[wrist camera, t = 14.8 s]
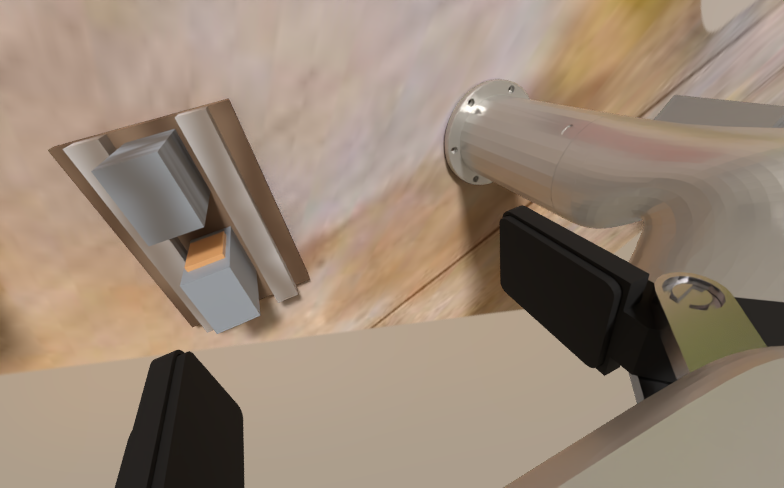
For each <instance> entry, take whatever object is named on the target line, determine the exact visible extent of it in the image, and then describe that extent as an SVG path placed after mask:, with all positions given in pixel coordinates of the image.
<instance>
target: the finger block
mask: <svg viewBox="0 0 784 488" xmlns="http://www.w3.org/2000/svg"><path fill="white" fill-rule="evenodd" d="M180 287H181V288H182V290H183V291H184V292H185V293H186V295H187V296H188V297H189V299H190V300H191V301H192V302H193V304H194V305H195V306H196V308H197V309H198V310H199V311H200V313H201V314H202V315H203V316H204V318H205V319H206V320H207V322H208V323H209V324H210V325H211V327H212V328H213V329H214V331H215V332H216V333H217V334H218V333H221V332H223V331H225V330H228V329H230V328H233V327H235V326H237V325H240V324H242V323H244V322H247V321H249V320H251V319H254V318H256V317H258V316H260V305H259V294H258V283H257V273H256V269H255V267H254V265H253V264H252V262H251V260H250V258H249V257H248V255H247V253H246V251H245V250H244V248H243V246H242V245H241V243H240V241H239V239H238V238H237V236H236V234H235V232H234V231H233V229H232V227H231V226H229V227H227V228H224V229H221V230H218V231H216V232H213V233H210V234H207V235H205V236H202V237H199V238H196V239H194V240H191V241H190V246H189V250H188V254H187V258H186V262H185V267H184V271H183V275H182V279H181V284H180Z"/></svg>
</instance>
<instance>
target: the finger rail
mask: <svg viewBox="0 0 784 488" xmlns="http://www.w3.org/2000/svg"><path fill="white" fill-rule="evenodd" d="M48 151H49V152H50V154H51V155H52V156H53V157H54V159H55V160H56V161H57V162H58V163H59V165H60V166H61V167H62V168H63V170H64V171H65V172H66V173H67V174H68V176H69V177H70V178H71V179H72V181H73V182H74V183H75V184H76V186H77V187H78V188H79V189H80V190H81V192H82V193H83V194H84V195H85V197H86V198H87V199H88V200H89V201H90V203H91V204H92V205H93V206H94V208H95V209H96V210H97V211H98V212H99V214H100V215H101V216H102V217H103V219H104V220H105V221H106V222H107V223H108V225H109V226H110V227H111V228H112V230H113V231H114V232H115V233H116V234H117V236H118V237H119V238H120V239H121V241H122V242H123V243H124V244H125V245H126V247H127V248H128V249H129V250H130V252H131V253H132V254H133V255H134V256H135V258H136V259H137V260H138V261H139V263H140V264H141V265H142V266H143V267H144V269H145V270H146V271H147V272H148V274H149V275H150V276H151V277H152V278H153V280H154V281H155V282H156V283H157V285H158V286H159V287H160V288H161V289H162V291H163V292H164V293H165V294H166V296H167V297H168V298H169V299H170V301H171V302H172V303H173V304H174V305H175V307H176V308H177V309H178V310H179V312H180V313H181V314H182V315H183V316H184V318H185V319H186V320H187V321H188V323H189V324H190V325H191V326H192V327H194V326H197V325H199V324H201V325H202V326H203V328H204V329H205V330H206V332H210V331H212V330H214V329H213V328H212V327H211V325H210V324H209V323H208V322H207V320H206V319H205V318H204V316H203V315H202V314H201V313H200V311H199V310H198V309H197V308H196V306H195V305H194V304H193V302H192V301H191V300H190V299H189V297H188V296H187V295H186V293H185V292H184V291H183V290H182V288H181V287H180V284H181V279H182V275H183V271H184V267H185V262H186V258H187V254H188V250H189V246H190V241H191V240H194V239H196V238H199V237H202V236H205V235H207V234H210V233H213V232H216V231H218V230H221V229H224V228H227V227H229V226H231V227H232V229H233V231H234V232H235V234H236V236H237V238H238V239H239V241H240V243H241V245H242V246H243V248H244V250H245V251H246V253H247V255H248V257H249V258H250V260H251V262H252V264H253V265H254V267H255V269H256V273H257V283H258V294H259V300H260V299H263V298H265V297H267V296H270V295H272V294H273V295H274V296H275V298H276V300H277V302H278V303H279V302H282V301H284V300H287V299H289V298H291V297H294V296H296V295H298V292H297V288H296V285H297V284H299V283H302V282H304V281H306V280H309V279H310V278H309V275H308V272H307V270H306V268H305V266H304V263H303V261H302V259H301V257H300V255H299V252H298V250H297V248H296V246H295V244H294V241H293V239H292V237H291V235H290V233H289V230H288V228H287V226H286V224H285V222H284V219H283V217H282V215H281V213H280V211H279V208H278V206H277V204H276V202H275V200H274V197H273V195H272V193H271V191H270V189H269V186H268V184H267V182H266V180H265V177H264V175H263V173H262V171H261V169H260V166H259V164H258V162H257V160H256V158H255V155H254V153H253V151H252V149H251V147H250V144H249V142H248V140H247V138H246V136H245V133H244V131H243V129H242V127H241V125H240V122H239V120H238V118H237V116H236V114H235V111H234V109H233V107H232V105H231V103H230V100H229V99H225V100H221V101H218V102H214V103H211V104H207V105H203V106H200V107H196V108H192V109H189V110H185V111H182V112H178V113H174V114H171V115H167V116H163V117H160V118H156V119H153V120H149V121H145V122H142V123H138V124H134V125H131V126H127V127H124V128H120V129H116V130H113V131H109V132H105V133H102V134H98V135H94V136H91V137H87V138H84V139H80V140H76V141H73V142H69V143H65V144H62V145H58V146H55V147H53V148H51V149H49V150H48Z"/></svg>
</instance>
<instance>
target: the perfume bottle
mask: <svg viewBox="0 0 784 488" xmlns="http://www.w3.org/2000/svg"><path fill="white" fill-rule="evenodd" d="M654 120H659V121H666V122H674V123H682V124H694V125H709V126H725V127H761V128H784V106H777V105H767V104H758V103H748V102H738V101H729V100H719V99H709V98H700V97H690V96H680V95H674V96H673V97H672V99H671V100H670V101H669V102H668V103H667V105H666V106H665V107H664V108H663V109H662V111H661V112H660V113H659V114H658V115H657V116H656V118H655V119H654Z"/></svg>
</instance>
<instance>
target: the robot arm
mask: <svg viewBox="0 0 784 488" xmlns="http://www.w3.org/2000/svg"><path fill="white" fill-rule="evenodd" d="M444 144H445V155H446V159H447V162H448V164H449V166H450V168H451V170H452V171H453V172H454V174H455V175H456V176H458V177H459V178H460V179H462V180H464V181H465V182H467V183H470V184H473V185H486V184H490V183H493V182H494V183H496V184H498V185H500V186H502V187H504V188H506V189H508V190H510V191H512V192H514V193H516V194H518V195H520V196H522V197H523V198H525V199H527V200H529V201H531V202H533V203H535V204H537V205H539V206H541V207H543V208H545V209H547V210H549V211H551V212H553V213H555V214H556V215H558V216H560V217H562V218H565V219H567V220H568V221H570V222H572V223H575V224H577V225H580V226H583V227H588V228H596V229H601V228H612V227H617V226H622V225H626V224H630V223H634V222H638V221H641V220H643V222H644V227H643V231H642V233H641V236H640V238H639V240H638V242H637V246H636V248H635V250H634V252H633V254H632V256H631V258H630V260H629V262H627V261H625V260H623V259H621V258H619V257H618V256H616V255H614V254H612V253H610V252H608V251H607V250H605V249H603V248H601V247H599V246H597V245H595V244H594V243H592V242H590V241H588V240H586V239H584V238H583V237H581V236H579V235H577V234H575V233H573V232H572V231H570V230H568V229H566V228H564V227H562V226H560V225H559V224H557V223H555V222H553V221H551V220H549V219H548V218H546V217H544V216H542V215H540V214H538V213H536V212H535V211H533V210H531V209H529V208H527V207H525V206H519V207H516V208H514V209H511V210H509V211H507V212H505V213H504V214H503V218H502V219H501V220H500V277H501V286H502V288H503V289H504V291H505V292H506V293H507V294H508V295H509V296H510V297H511V298H513V299H514V300H515V301H516V302H517V303H518V304H519V305H520V306H521V307H523V308H524V309H525V310H526V311H527V312H528V313H529V314H530V315H531V316H533V317H534V318H535V319H536V320H537V321H538V322H539V323H540V324H542V325H543V326H544V327H545V328H546V329H547V330H548V331H549V332H550V333H551V334H553V335H554V336H555V337H556V338H557V339H558V340H559V341H560V342H561V343H562V344H564V345H565V346H566V347H567V348H568V349H569V350H570V351H571V352H572V353H574V354H575V355H576V356H577V357H578V358H579V359H580V360H581V361H583V362H584V363H585V364H586V365H587V366H589V367H591V368H596V369H597V370H599V371H600V372H601V373H602V374H603V375H604V376H605V375H607V374H609V373H610V372H612V371H614V370H615V369H617V368H619V367H620V365H621V366H622V367H623V368H625V369H626V370H627V371H628V372H629V376H630V379H631V383H632V387H633V391H634V394H635V398H636V402H637V404H636V405H635V406H633V407H632V408H630V409H628V410H627V411H625V412H623V413H622V414H620V415H619V416H617V417H615V418H614V419H612V420H611V421H609V422H607V423H606V424H604V425H602V426H601V427H600V428H598V429H596V430H594V431H593V432H591V433H590V434H588V435H586V436H585V437H583V438H582V439H580V440H578V441H577V442H575V443H574V444H572V445H570V446H569V447H567V448H566V449H564V450H562V451H561V452H559V453H558V454H556V455H554V456H553V457H551V458H549V459H548V460H546V461H545V462H543V463H541V464H540V465H538V466H537V467H535V468H533V469H532V470H530V471H529V472H527V473H526V474H524V475H522V476H521V477H519V478H518V479H516V480H514V481H513V482H511V483H510V484H508V485H506V486H505V487H503V488H784V128H761V127H725V126H709V125H694V124H682V123H674V122H666V121H659V120H651V119H643V118H637V117H631V116H625V115H619V114H613V113H607V112H601V111H595V110H589V109H583V108H577V107H571V106H566V105H560V104H554V103H548V102H542V101H536V100H530V99H529V96H528V94H527V93H526V92H525V91H524V89H523V88H522V87H521V86H519V85H518V84H516V83H514V82H511V81H508V80H501V79H497V80H489V81H486V82H483V83H481V84H479V85H477V86H475V87H474V88H472V89H471V90H470V91H469V92H468V93H467V94H465V96H464V97H463V98H462V99H461V100H460V101H459V103H458V104H457V106H456V107H455V109H454V111H453V112H452V115H451V117H450V119H449V122H448V125H447V129H446V133H445V143H444ZM243 445H244V443H243V415H242V412H241V409H240V407H239V406H238V404H237V403H236V402H235V401H234V400H233V399H232V398H231V396H230V395H229V394H228V393H227V392H226V391H225V390H224V388H223V387H222V386H221V385H220V384H219V383H218V382H217V380H216V379H215V378H214V377H213V376H212V375H211V374H210V372H209V371H208V370H207V369H206V368H205V367H204V366H203V365H202V363H201V362H200V361H199V360H198V359H197V358H196V356H195V355H194V354H193V353H192V352H186V353H184V352H183V351H181V350H176V351H173V352H171V353H169V354H166V355H164V356H162V357H159V358H157V359H154V360H153V361H152V362H151V364H150V368H149V371H148V375H147V379H146V382H145V386H144V390H143V393H142V397H141V401H140V404H139V408H138V412H137V415H136V419H135V423H134V426H133V430H132V432H131V434H130V436H129V439H128V442H127V445H126V449H125V453H124V456H123V460H122V464H121V467H120V471H119V475H118V478H117V482H116V485H115V488H244V446H243Z"/></svg>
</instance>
